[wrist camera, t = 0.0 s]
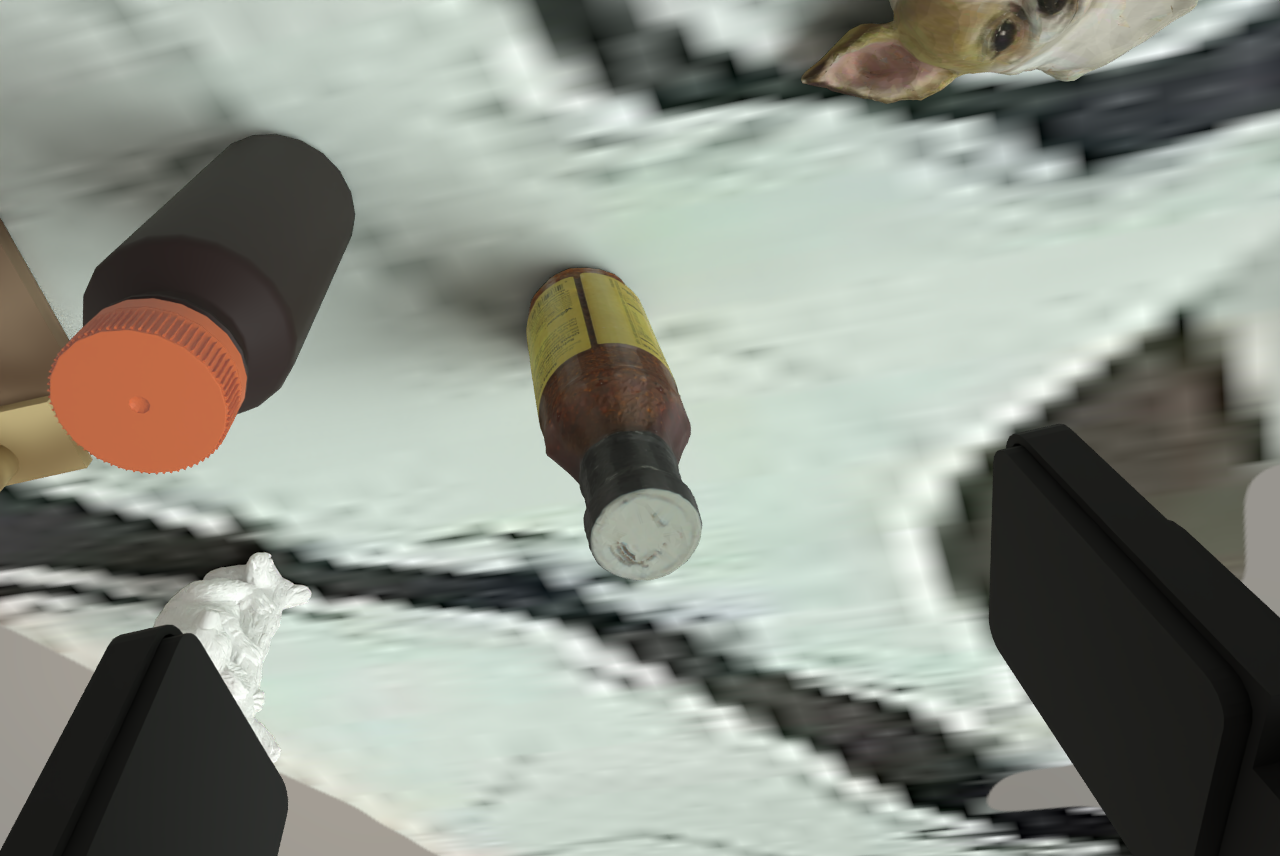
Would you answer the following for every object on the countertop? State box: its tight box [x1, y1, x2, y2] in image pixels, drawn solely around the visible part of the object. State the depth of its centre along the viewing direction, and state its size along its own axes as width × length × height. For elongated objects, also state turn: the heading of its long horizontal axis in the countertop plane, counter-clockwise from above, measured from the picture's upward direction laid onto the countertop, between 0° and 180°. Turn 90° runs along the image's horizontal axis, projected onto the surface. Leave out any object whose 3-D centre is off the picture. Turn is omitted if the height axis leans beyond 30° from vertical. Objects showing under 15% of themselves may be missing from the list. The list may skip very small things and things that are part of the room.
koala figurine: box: [153, 552, 311, 763], centre depth 49 cm, size 8×7×12 cm
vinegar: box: [47, 134, 355, 474], centre depth 35 cm, size 7×7×20 cm
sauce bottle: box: [526, 268, 702, 581], centre depth 40 cm, size 7×6×20 cm
